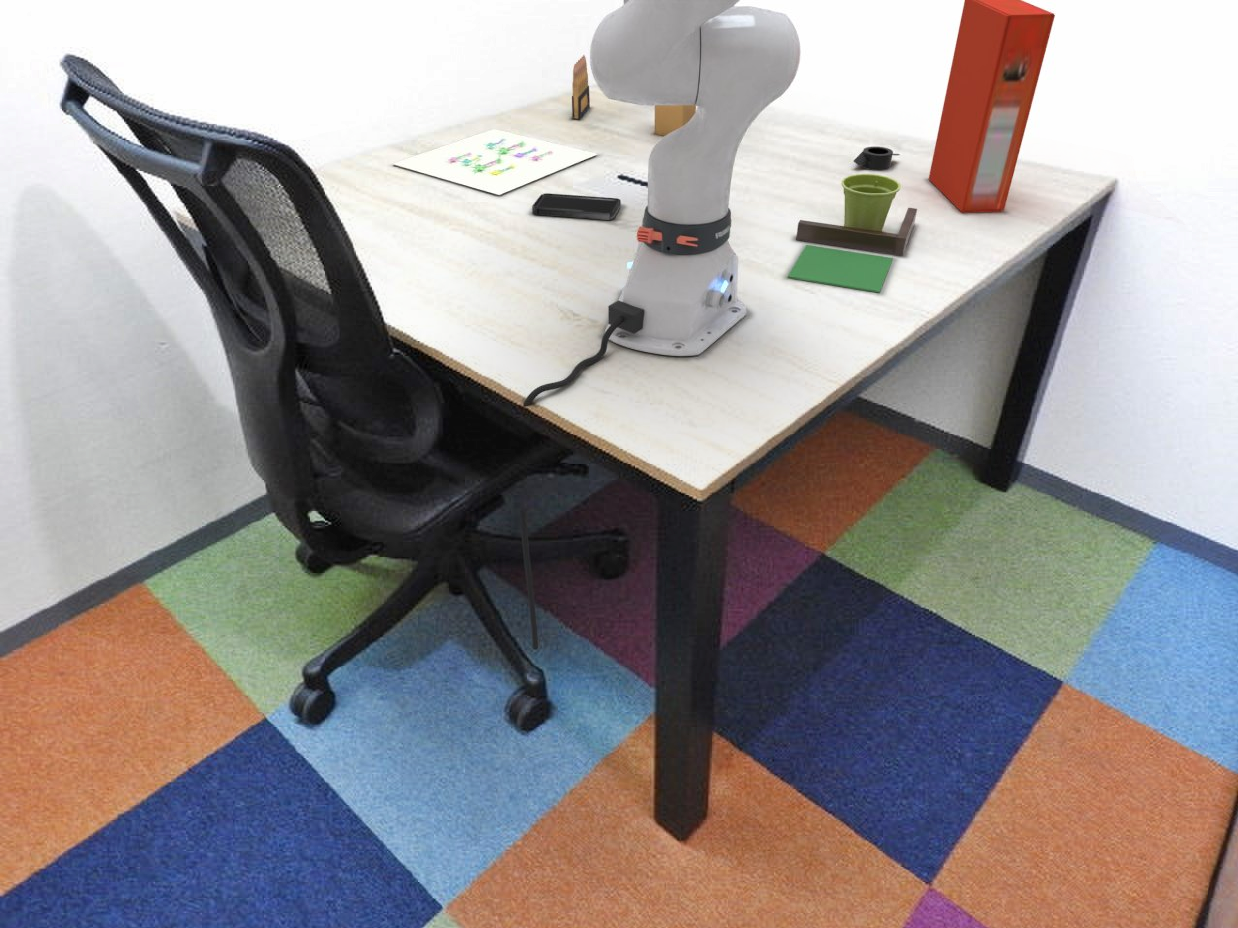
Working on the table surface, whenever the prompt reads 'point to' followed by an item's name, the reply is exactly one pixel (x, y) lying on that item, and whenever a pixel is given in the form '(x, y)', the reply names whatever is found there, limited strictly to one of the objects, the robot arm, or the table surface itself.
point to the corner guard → (858, 235)
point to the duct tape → (875, 158)
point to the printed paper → (495, 160)
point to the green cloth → (841, 268)
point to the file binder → (988, 101)
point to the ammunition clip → (580, 89)
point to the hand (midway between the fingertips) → (690, 32)
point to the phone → (576, 206)
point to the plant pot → (868, 200)
